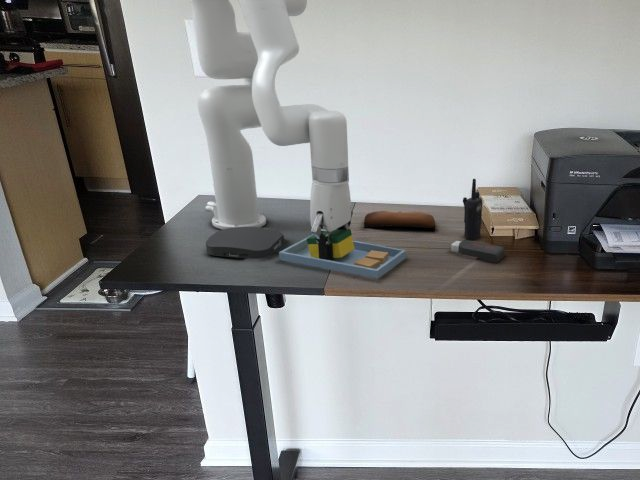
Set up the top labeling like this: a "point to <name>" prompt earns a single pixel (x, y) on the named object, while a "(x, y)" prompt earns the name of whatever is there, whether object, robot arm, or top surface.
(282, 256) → the tray
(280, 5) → the robot arm
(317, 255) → the sponge
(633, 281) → the top surface
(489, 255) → the usb drive
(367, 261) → the crumb
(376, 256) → the crumb
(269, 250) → the media streaming box
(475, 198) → the two-way radio
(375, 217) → the sunglasses case
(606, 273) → the top surface
